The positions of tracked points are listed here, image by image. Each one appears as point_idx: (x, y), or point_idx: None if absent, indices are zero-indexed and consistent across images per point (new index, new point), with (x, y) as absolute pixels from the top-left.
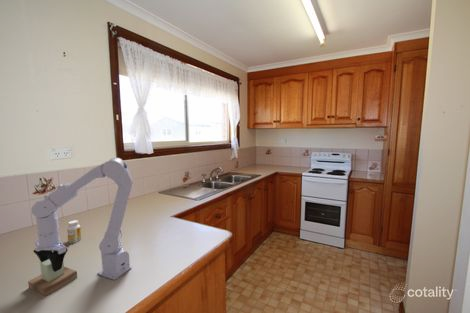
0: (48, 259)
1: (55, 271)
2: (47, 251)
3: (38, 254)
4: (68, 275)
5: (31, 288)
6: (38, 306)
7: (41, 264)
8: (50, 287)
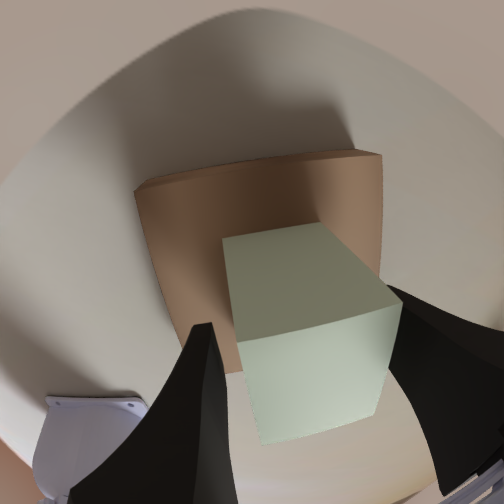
0: (380, 371)
1: (191, 328)
2: (449, 427)
3: (497, 370)
4: (184, 340)
5: (327, 151)
6: (74, 124)
7: (368, 302)
8: (144, 223)
